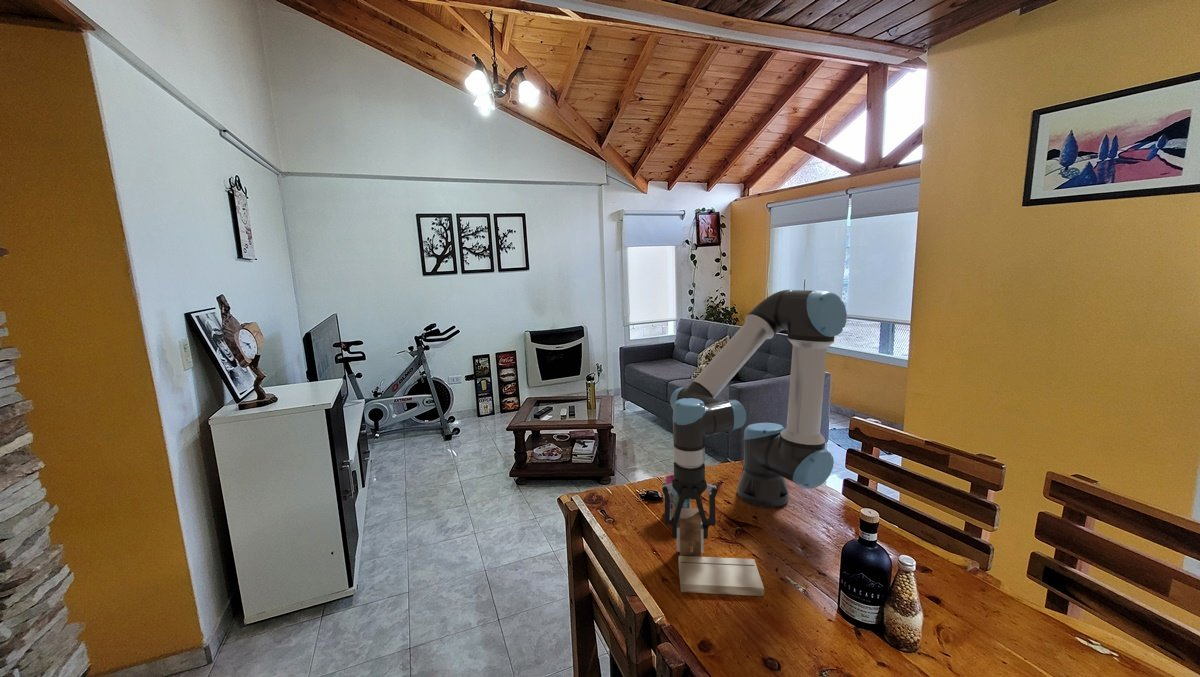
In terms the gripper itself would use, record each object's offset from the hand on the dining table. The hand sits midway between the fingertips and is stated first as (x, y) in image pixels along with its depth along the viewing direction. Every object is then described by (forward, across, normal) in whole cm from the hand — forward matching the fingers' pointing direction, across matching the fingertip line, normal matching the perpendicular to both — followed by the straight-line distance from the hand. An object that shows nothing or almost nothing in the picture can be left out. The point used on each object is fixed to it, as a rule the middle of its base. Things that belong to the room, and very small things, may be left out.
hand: (689, 548), depth 114 cm
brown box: (+1, 0, +2) cm, 2 cm away
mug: (+2, +1, -20) cm, 20 cm away
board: (+2, -6, +8) cm, 11 cm away
